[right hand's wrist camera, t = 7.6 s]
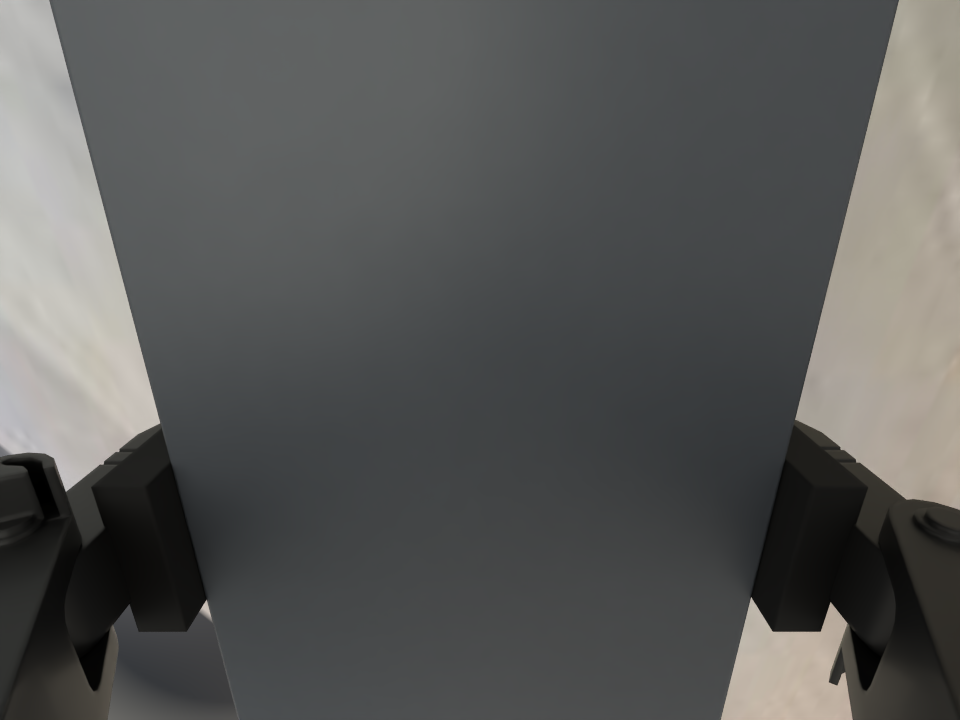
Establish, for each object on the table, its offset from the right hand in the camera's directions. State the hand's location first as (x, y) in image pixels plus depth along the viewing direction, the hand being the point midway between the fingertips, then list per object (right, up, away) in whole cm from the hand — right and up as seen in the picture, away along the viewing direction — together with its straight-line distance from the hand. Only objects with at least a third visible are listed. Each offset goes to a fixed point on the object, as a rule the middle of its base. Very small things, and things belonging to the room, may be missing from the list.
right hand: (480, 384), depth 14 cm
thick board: (0, +27, -10) cm, 29 cm away
